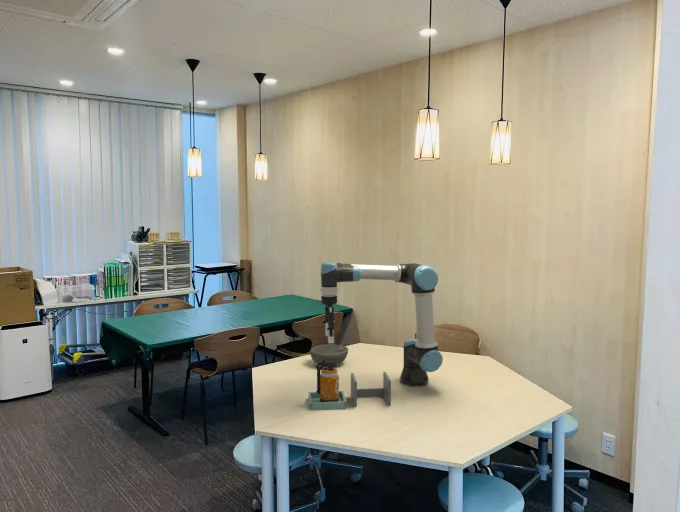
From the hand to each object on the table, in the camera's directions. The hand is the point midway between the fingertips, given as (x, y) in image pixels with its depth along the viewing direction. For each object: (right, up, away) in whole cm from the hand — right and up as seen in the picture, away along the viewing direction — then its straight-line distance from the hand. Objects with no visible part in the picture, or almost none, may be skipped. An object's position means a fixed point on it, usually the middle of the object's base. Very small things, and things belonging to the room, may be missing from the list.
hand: (329, 339), depth 252 cm
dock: (+20, -31, +3) cm, 36 cm away
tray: (-1, -31, +1) cm, 31 cm away
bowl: (-2, -25, +64) cm, 69 cm away
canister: (-1, -30, +1) cm, 30 cm away
